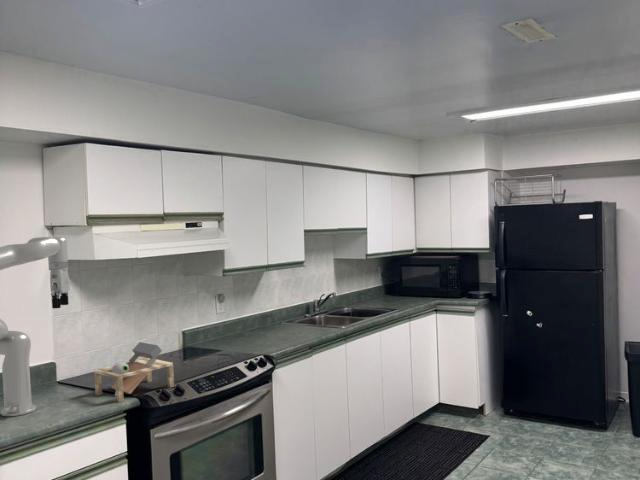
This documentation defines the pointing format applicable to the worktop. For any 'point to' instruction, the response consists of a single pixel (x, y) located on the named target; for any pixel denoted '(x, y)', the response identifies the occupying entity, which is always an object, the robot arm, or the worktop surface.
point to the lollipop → (120, 369)
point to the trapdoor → (139, 365)
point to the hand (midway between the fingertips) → (60, 306)
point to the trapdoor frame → (119, 378)
